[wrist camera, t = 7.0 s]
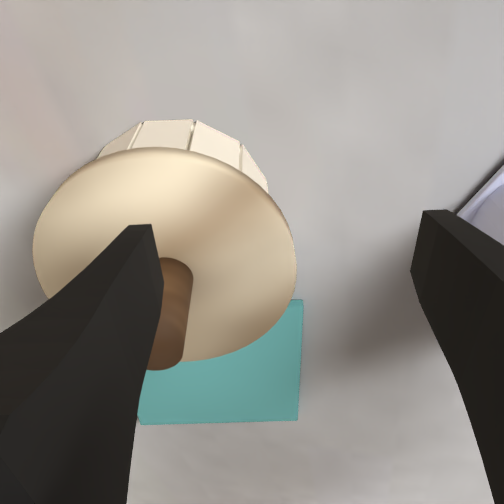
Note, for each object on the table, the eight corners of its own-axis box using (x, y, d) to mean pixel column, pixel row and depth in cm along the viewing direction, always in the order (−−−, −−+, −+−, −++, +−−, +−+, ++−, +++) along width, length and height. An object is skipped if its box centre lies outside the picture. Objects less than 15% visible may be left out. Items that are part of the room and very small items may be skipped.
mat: (302, 299, 27) (303, 306, 27) (296, 413, 35) (297, 420, 34) (107, 305, 28) (105, 312, 27) (142, 418, 35) (140, 425, 34)
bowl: (300, 171, 22) (311, 221, 19) (221, 291, 27) (217, 349, 23) (125, 84, 20) (98, 122, 16) (71, 234, 24) (41, 290, 21)
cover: (345, 225, 19) (372, 309, 15) (221, 371, 24) (216, 460, 20) (89, 90, 15) (34, 153, 11) (14, 296, 21) (-41, 386, 17)
